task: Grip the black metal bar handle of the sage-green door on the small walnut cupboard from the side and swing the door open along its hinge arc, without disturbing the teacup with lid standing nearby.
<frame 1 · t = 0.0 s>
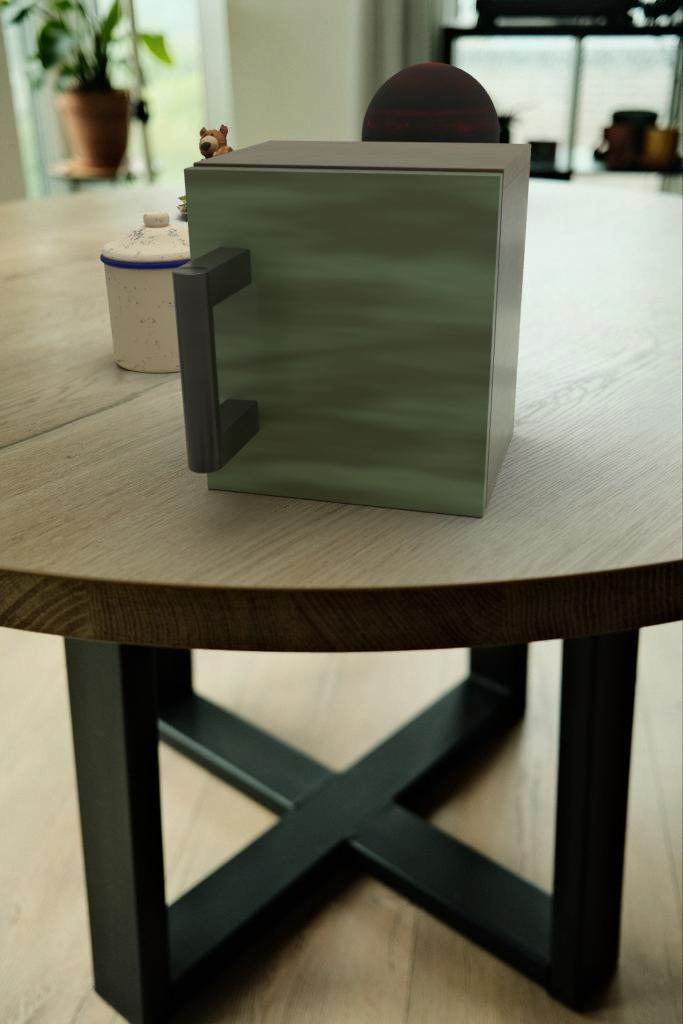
bear figurine: (224, 216, 149), on the table
cupboard: (371, 457, 63), on the table
decorative orb: (428, 209, 152), on the table
door: (323, 363, 51), point 9 cm above the table, hinge at 0.0°
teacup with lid: (168, 356, 84), on the table
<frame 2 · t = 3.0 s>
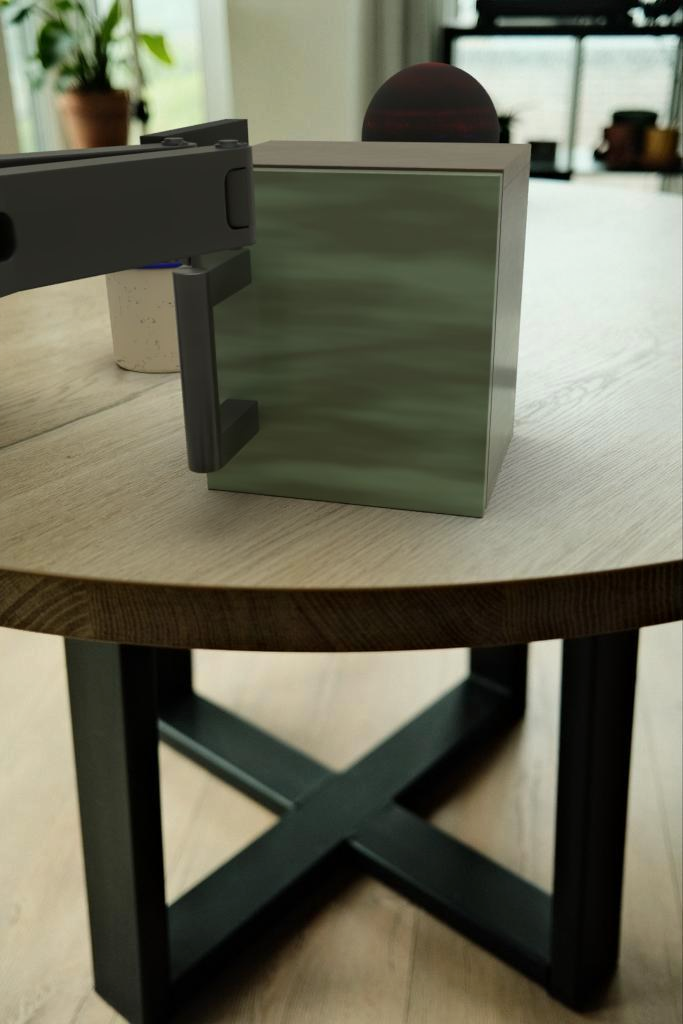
hand: (57, 159, 36), 20 cm above the table, tool horizontal, fingers open, 13 cm apart
nothing on the table moved.
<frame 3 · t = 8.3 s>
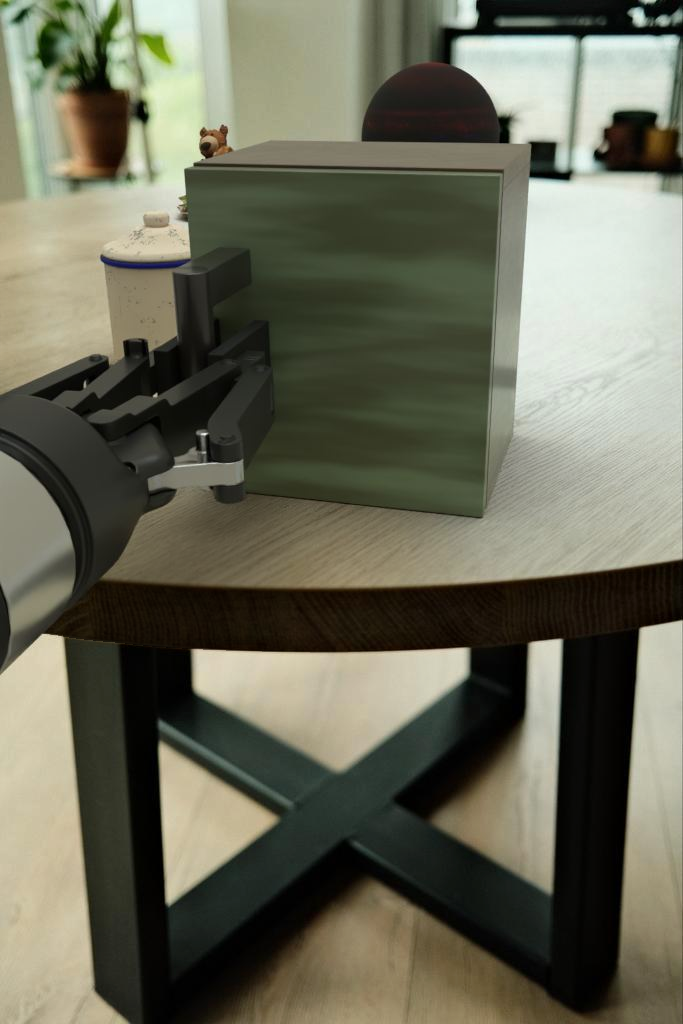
hand: (238, 344, 54), 9 cm above the table, tool horizontal, fingers open, 2 cm apart
door: (323, 363, 51), point 9 cm above the table, hinge at -0.1°, touching gripper
everything else where it was.
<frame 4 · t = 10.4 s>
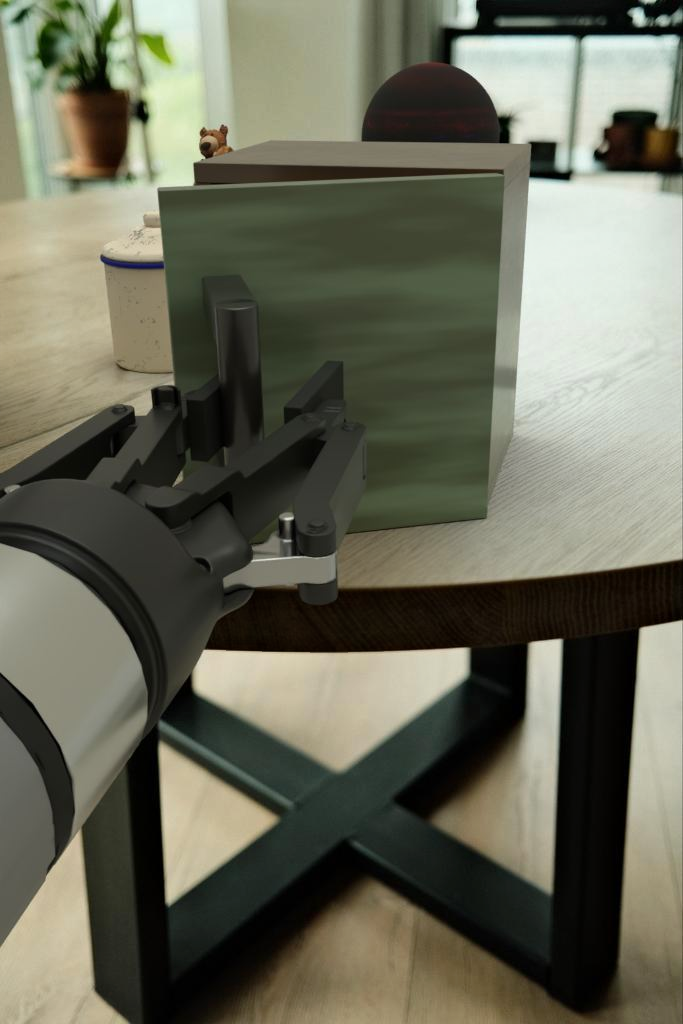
hand: (291, 386, 47), 9 cm above the table, tool horizontal, fingers open, 3 cm apart
door: (352, 388, 47), point 9 cm above the table, hinge at 28.3°, touching gripper
everything else where it was.
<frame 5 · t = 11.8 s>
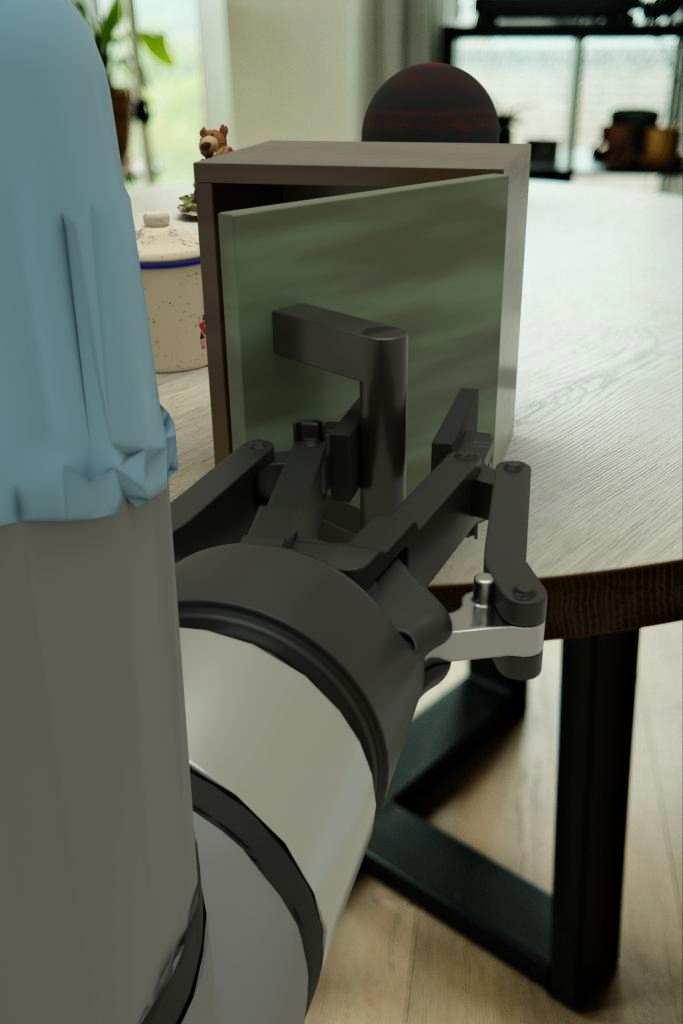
hand: (423, 415, 43), 9 cm above the table, tool horizontal, fingers open, 3 cm apart
door: (428, 408, 45), point 9 cm above the table, hinge at 57.7°, touching gripper
everything else where it was.
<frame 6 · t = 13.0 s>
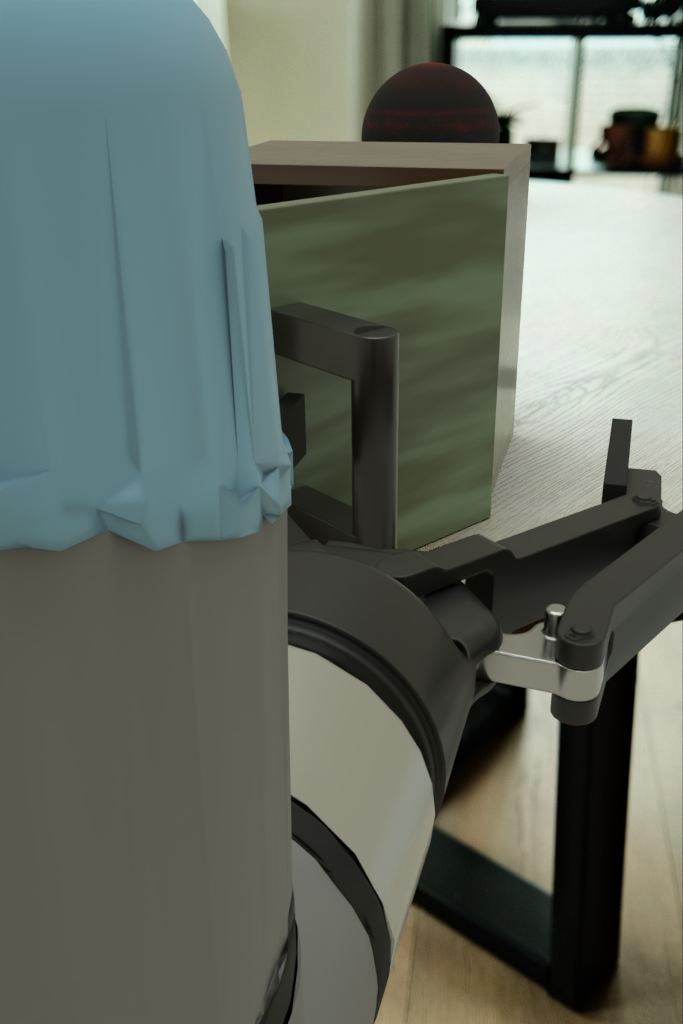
hand: (451, 436, 41), 9 cm above the table, tool horizontal, fingers open, 12 cm apart
door: (424, 407, 45), point 9 cm above the table, hinge at 56.3°, touching gripper
everything else where it was.
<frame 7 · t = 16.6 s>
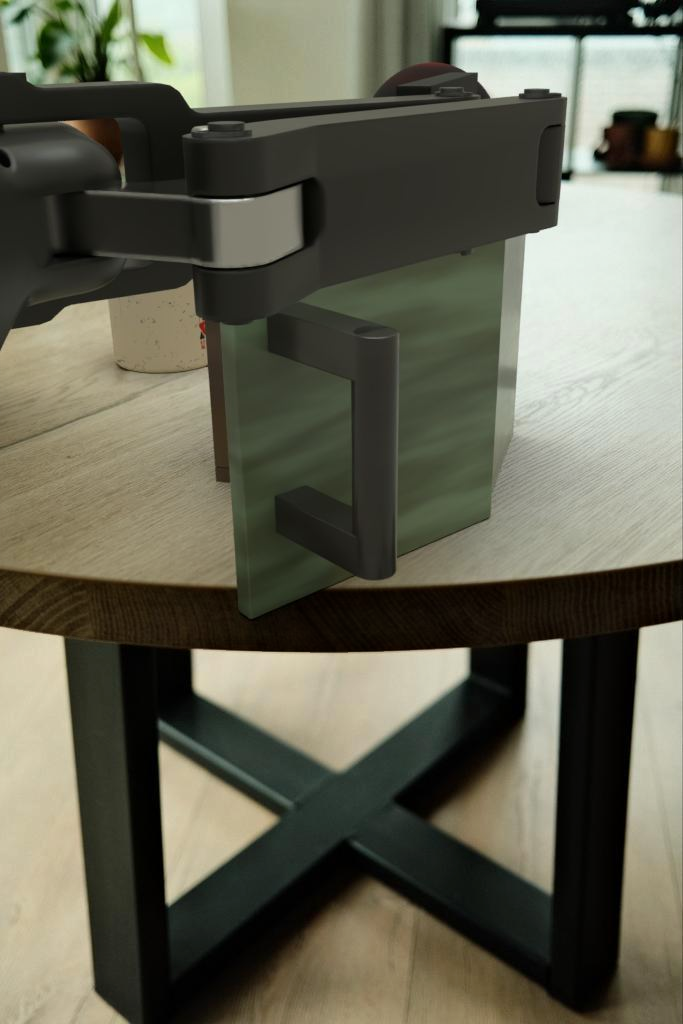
hand: (229, 123, 29), 22 cm above the table, tool horizontal, fingers open, 13 cm apart
door: (424, 407, 45), point 9 cm above the table, hinge at 56.3°
everything else where it was.
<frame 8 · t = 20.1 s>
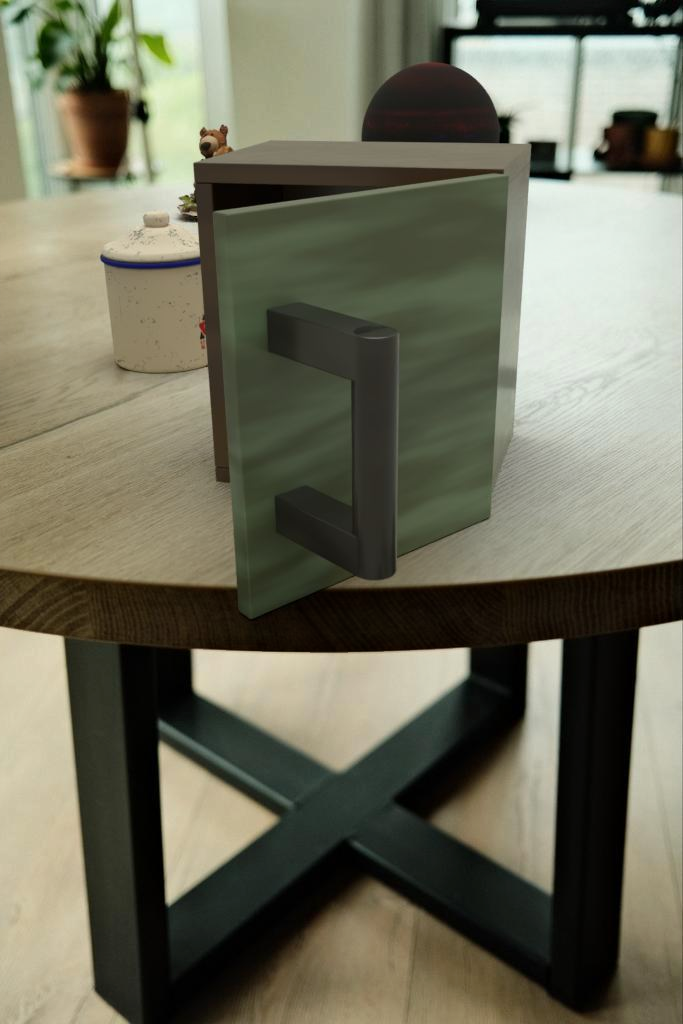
nothing on the table moved.
at the end: door at +56° (first picture: +0°); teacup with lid moved 0.2 cm from its start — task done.
